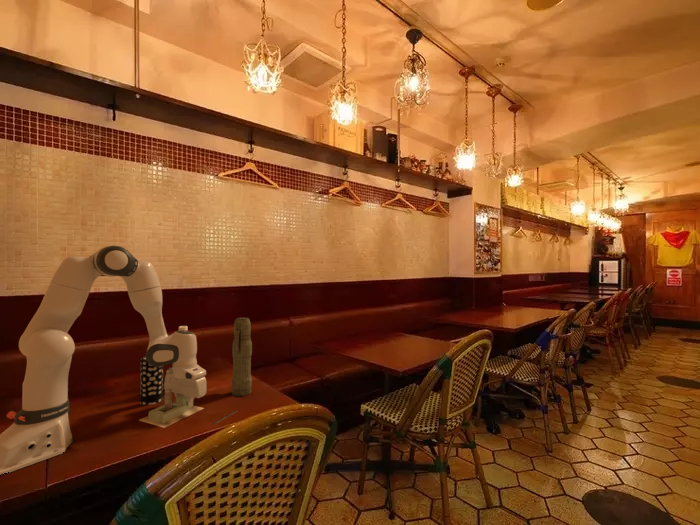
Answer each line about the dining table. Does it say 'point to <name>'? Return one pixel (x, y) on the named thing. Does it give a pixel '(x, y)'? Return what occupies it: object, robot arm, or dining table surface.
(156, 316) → the robot arm
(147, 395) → the white-spotted black cylinder
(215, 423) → the mat
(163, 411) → the link
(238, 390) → the stone moai statue
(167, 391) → the post stand
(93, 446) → the dining table surface
